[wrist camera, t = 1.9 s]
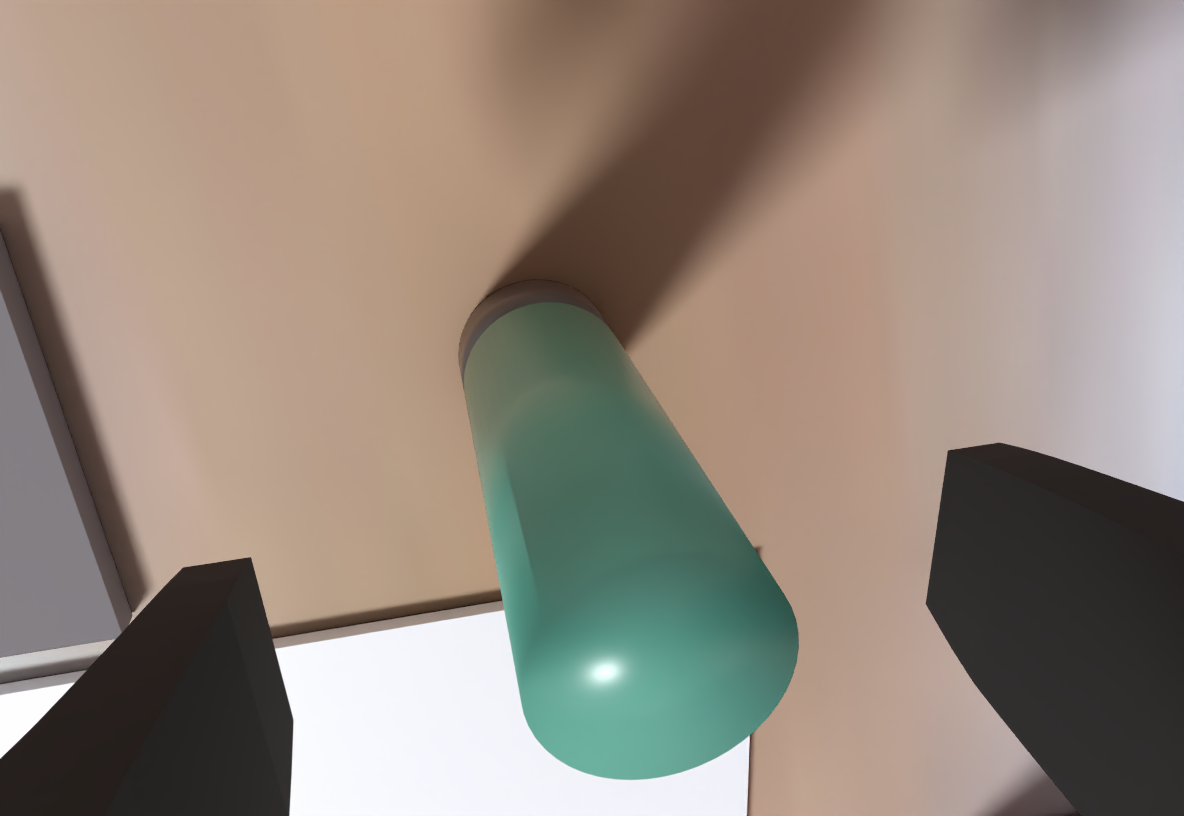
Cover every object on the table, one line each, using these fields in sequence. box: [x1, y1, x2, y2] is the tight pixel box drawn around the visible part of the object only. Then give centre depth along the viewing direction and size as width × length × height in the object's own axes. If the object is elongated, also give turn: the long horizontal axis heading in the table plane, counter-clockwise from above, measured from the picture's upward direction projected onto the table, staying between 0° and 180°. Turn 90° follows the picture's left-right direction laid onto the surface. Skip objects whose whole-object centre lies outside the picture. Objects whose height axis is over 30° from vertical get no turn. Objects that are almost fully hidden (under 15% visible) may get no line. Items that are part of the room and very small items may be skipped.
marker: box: [459, 280, 799, 780], centre depth 12 cm, size 3×3×8 cm
